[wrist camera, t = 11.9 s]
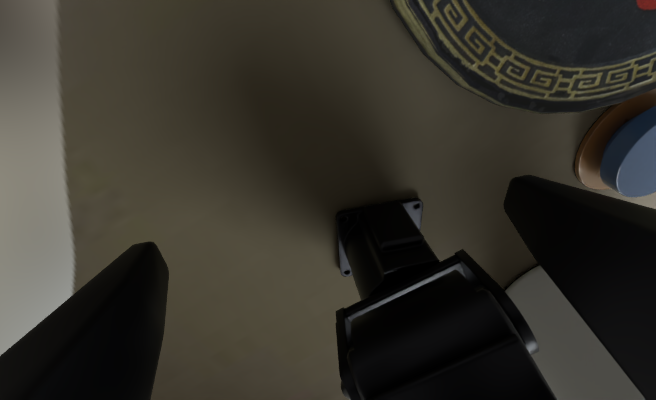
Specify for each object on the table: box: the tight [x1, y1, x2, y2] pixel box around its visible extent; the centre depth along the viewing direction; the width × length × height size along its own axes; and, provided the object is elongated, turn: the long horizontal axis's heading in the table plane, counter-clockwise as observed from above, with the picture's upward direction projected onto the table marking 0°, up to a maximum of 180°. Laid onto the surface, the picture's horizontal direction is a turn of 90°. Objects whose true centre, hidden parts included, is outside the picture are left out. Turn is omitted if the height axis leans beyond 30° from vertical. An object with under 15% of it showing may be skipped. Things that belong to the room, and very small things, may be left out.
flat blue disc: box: [600, 106, 656, 197], centre depth 23 cm, size 7×7×2 cm
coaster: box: [575, 89, 656, 190], centre depth 24 cm, size 9×9×1 cm
